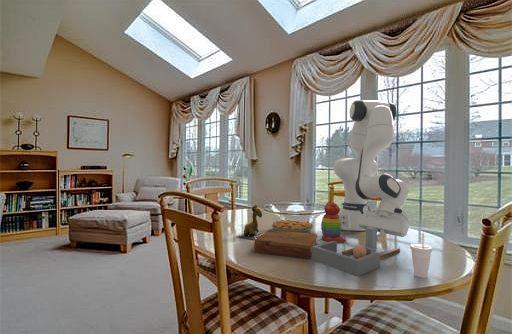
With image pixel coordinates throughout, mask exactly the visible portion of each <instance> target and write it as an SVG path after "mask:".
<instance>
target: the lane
mask: <svg viewBox="0 0 512 334" xmlns="http://www.w3.org/2000/svg"><path fill="white" fill-rule="evenodd" d="M362 245H363V246H366V243H365V244H362ZM353 248H354V247H353ZM353 248H349V249H346V250H342V251H341V254H343V255H346V256H350V255H354V254H353ZM385 251H386V252H383V253H381V254H380V261H381V260H383V259H386V258H389V257H391V256H394V255H397V254H399V253H401V249H400V248H399V247H394V248H392V249H389V250H385Z"/></svg>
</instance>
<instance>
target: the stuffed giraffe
mask: <svg viewBox="0 0 512 334" xmlns="http://www.w3.org/2000/svg"><path fill="white" fill-rule="evenodd" d="M251 211H252V215H251V216H252V221H251V222H249V223H247V224H245V226H244V229H243V230H244V233H243V235H241V236H240V235H239V236H240V237H239V238H243V239H247V240H253V241H255V237H254V236H256V238H258V237H259V236H258V234H257V233H258V232H259V231H260V230H259V221H258V219H257V217H258V218H262V217H263V212H262V209H261V208H260V207H259V206H258V205H257V204H255V205H253V207H252V208H251ZM263 233H264V232H262V233H260V234H263ZM248 235H250V236H248Z"/></svg>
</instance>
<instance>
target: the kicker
mask: <svg viewBox="0 0 512 334" xmlns="http://www.w3.org/2000/svg"><path fill="white" fill-rule="evenodd" d="M377 235H378V232H377V228H373V227H367V228H366V230H365V244H366V246H364V247H365V249H366V255H369V254H372V253H375V252H377V253H380V254H381V253H383V252H386V251H387V250H384V249H380V248H377V246H378V245H377V244H378V243H377V242H378V241H377ZM361 245H362V246H363V245H364V244H361Z"/></svg>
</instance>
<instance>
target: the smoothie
mask: <svg viewBox="0 0 512 334" xmlns="http://www.w3.org/2000/svg"><path fill="white" fill-rule="evenodd" d="M409 249H410V251H411V259H412V267H413V274H414V276H415V277H418V278H421V279H425V278H426V279H427V278H428V275H429V268H430V262H431V261H430V260H431V257H432V252H433V247H432V246H430V245H428V244H425V233H424V232H422V233H421V243H410V245H409Z"/></svg>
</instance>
